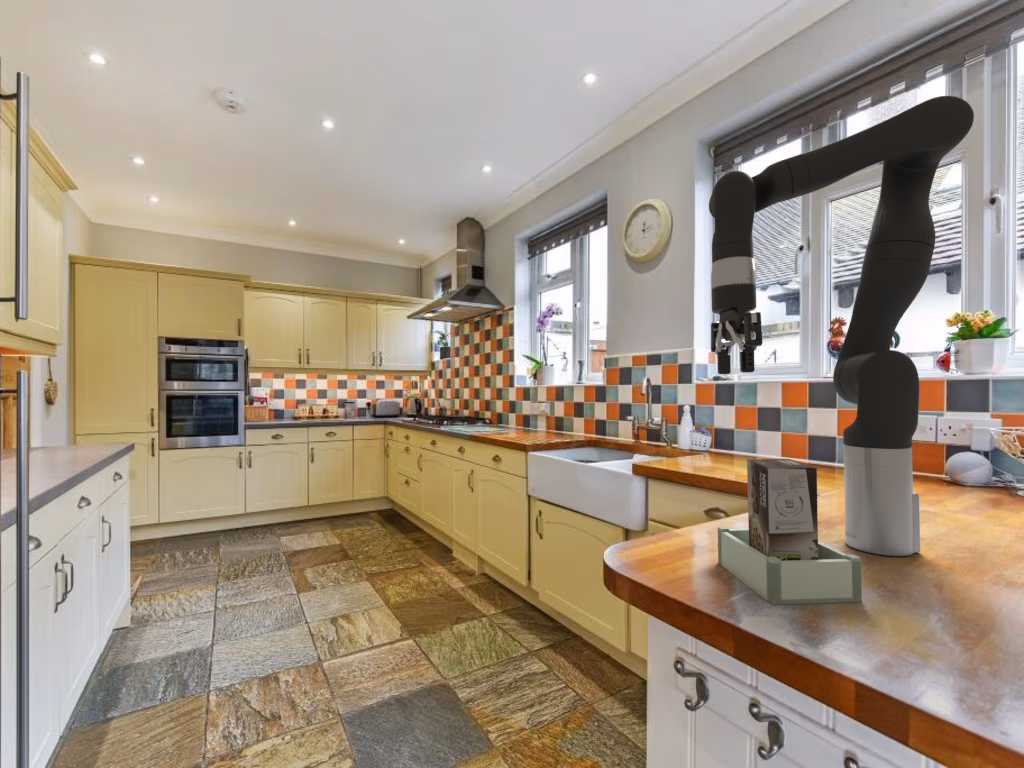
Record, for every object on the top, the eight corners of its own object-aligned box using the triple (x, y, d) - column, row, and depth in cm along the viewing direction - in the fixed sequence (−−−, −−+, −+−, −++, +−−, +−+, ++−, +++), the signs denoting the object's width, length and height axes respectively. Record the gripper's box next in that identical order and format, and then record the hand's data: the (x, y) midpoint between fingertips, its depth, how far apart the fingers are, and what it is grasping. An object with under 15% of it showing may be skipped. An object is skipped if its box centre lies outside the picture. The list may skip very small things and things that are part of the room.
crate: (790, 560, 75) (789, 525, 75) (861, 601, 61) (860, 557, 61) (718, 562, 75) (717, 526, 75) (772, 604, 60) (771, 560, 60)
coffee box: (821, 590, 63) (819, 467, 63) (769, 587, 64) (766, 466, 64) (793, 565, 72) (791, 457, 72) (747, 562, 73) (745, 457, 73)
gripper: (775, 276, 81) (777, 371, 81) (733, 293, 96) (735, 374, 95) (732, 277, 81) (734, 372, 81) (697, 293, 95) (698, 374, 95)
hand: (735, 373), depth 88 cm, fingers open, 8 cm apart
